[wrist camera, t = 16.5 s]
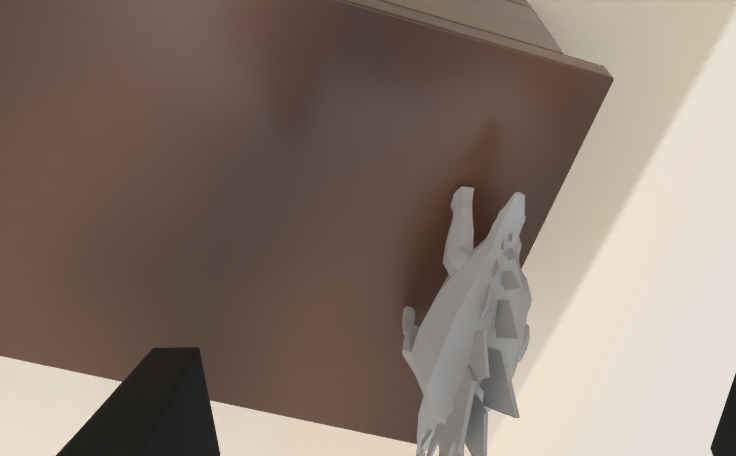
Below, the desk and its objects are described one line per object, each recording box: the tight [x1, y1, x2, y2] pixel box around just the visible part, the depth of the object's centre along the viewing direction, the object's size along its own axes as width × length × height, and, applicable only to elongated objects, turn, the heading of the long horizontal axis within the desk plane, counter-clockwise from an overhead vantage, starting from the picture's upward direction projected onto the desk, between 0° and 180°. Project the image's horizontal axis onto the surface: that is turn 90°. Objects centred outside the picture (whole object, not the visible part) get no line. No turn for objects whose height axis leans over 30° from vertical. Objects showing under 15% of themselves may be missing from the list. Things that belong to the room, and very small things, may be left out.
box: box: [378, 0, 564, 55], centre depth 17 cm, size 10×10×4 cm
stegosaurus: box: [402, 186, 532, 456], centre depth 13 cm, size 2×7×5 cm, turn 167°
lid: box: [0, 0, 613, 444], centre depth 15 cm, size 11×10×1 cm
